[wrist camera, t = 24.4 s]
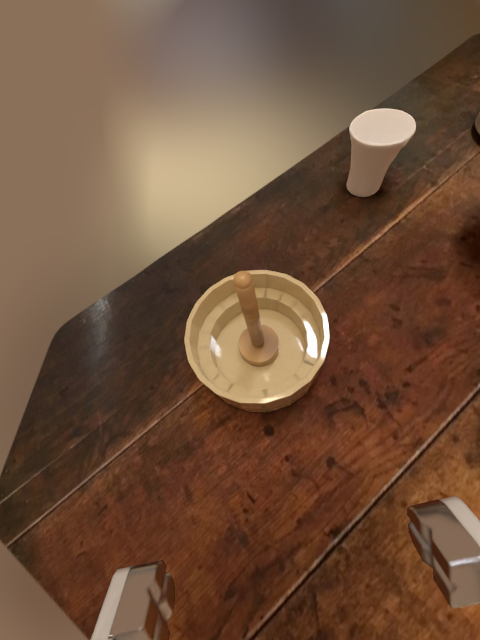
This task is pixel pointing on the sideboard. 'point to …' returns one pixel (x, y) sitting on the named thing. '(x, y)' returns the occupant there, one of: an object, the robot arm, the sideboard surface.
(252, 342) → the wooden dowel stand
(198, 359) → the mixing bowl
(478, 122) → the planter
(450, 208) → the sideboard surface
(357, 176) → the cup
